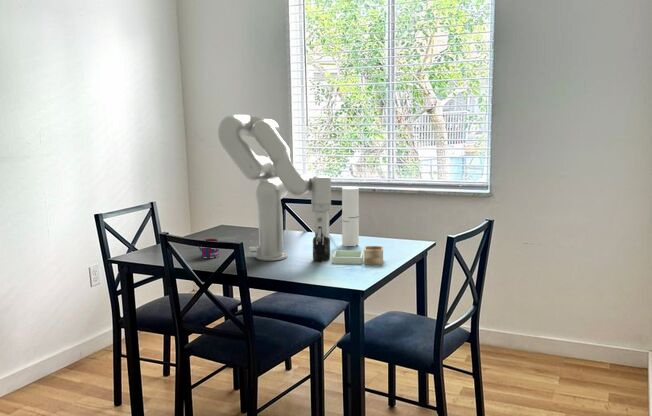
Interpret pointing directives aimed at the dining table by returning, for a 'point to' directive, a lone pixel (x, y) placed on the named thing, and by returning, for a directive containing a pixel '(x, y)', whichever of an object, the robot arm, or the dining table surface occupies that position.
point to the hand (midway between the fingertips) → (321, 252)
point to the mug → (209, 250)
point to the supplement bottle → (327, 250)
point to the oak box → (373, 255)
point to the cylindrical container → (350, 216)
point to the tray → (347, 257)
